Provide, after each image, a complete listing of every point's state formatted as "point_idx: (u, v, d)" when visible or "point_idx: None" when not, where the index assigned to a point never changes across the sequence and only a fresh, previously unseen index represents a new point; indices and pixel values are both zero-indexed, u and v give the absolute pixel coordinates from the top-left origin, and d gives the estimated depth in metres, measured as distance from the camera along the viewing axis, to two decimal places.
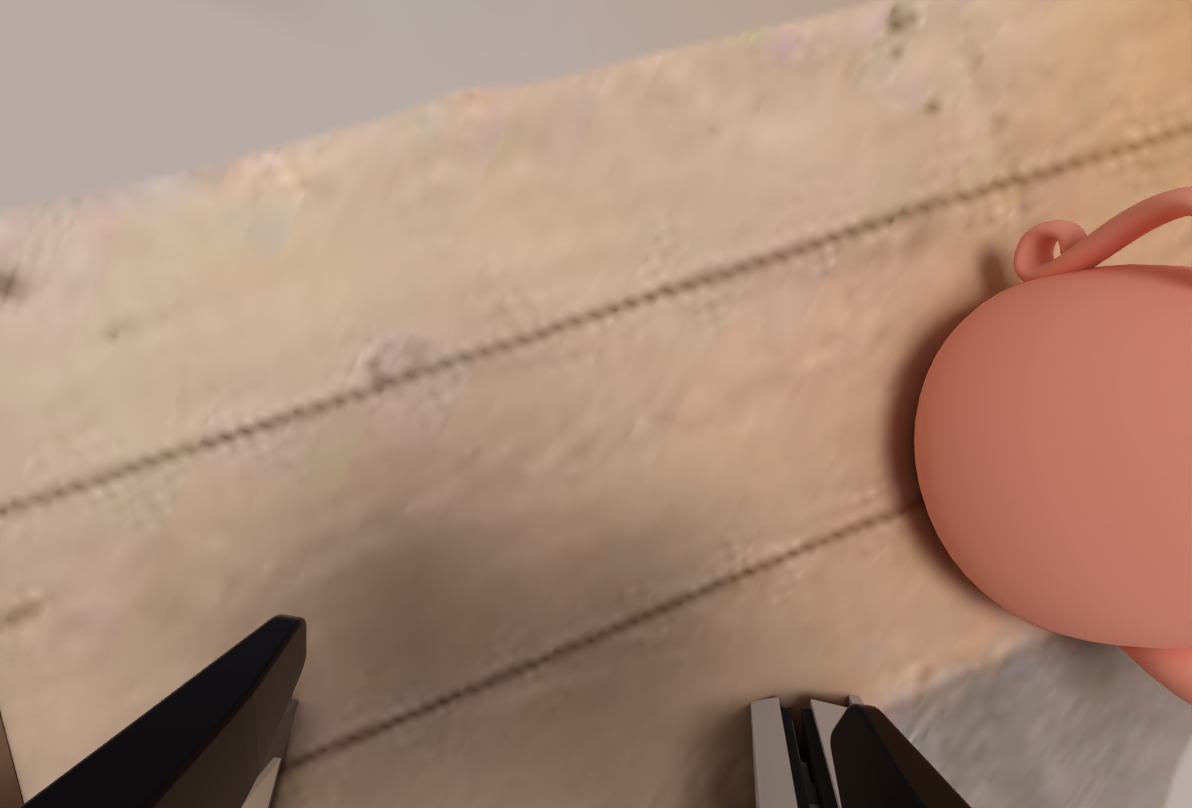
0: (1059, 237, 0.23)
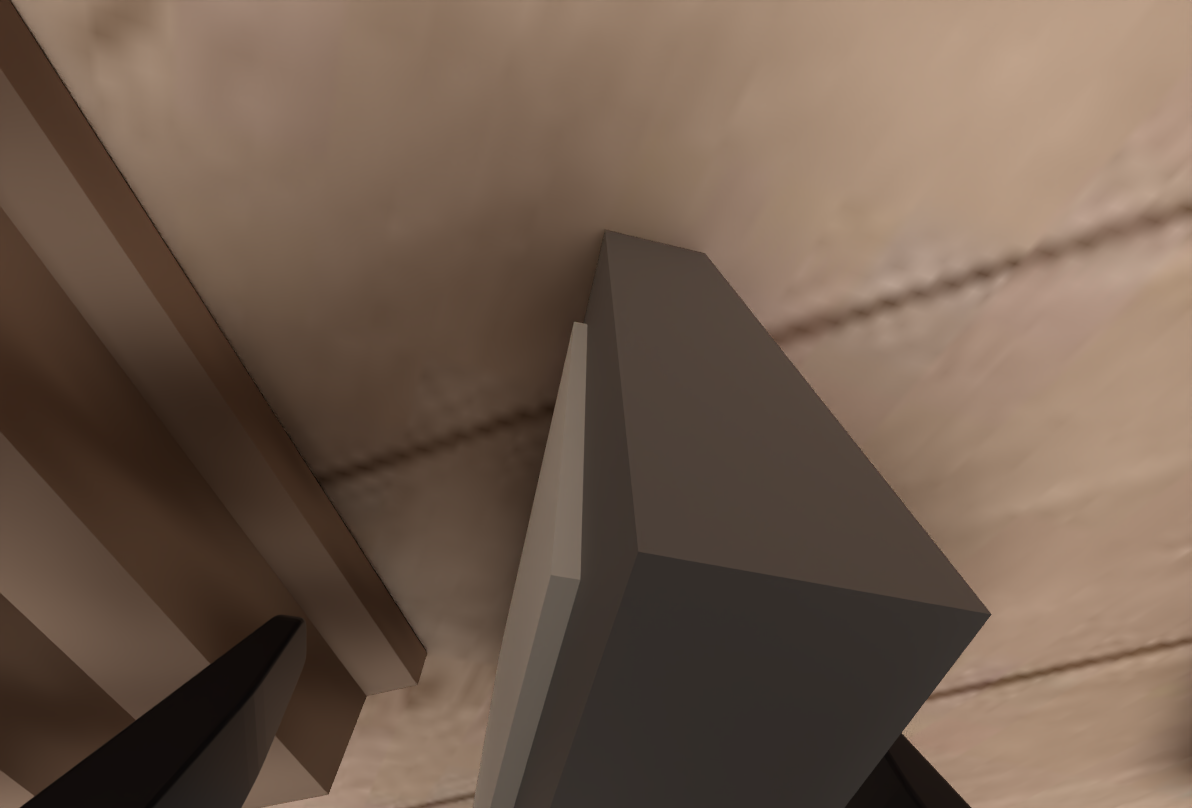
0: None
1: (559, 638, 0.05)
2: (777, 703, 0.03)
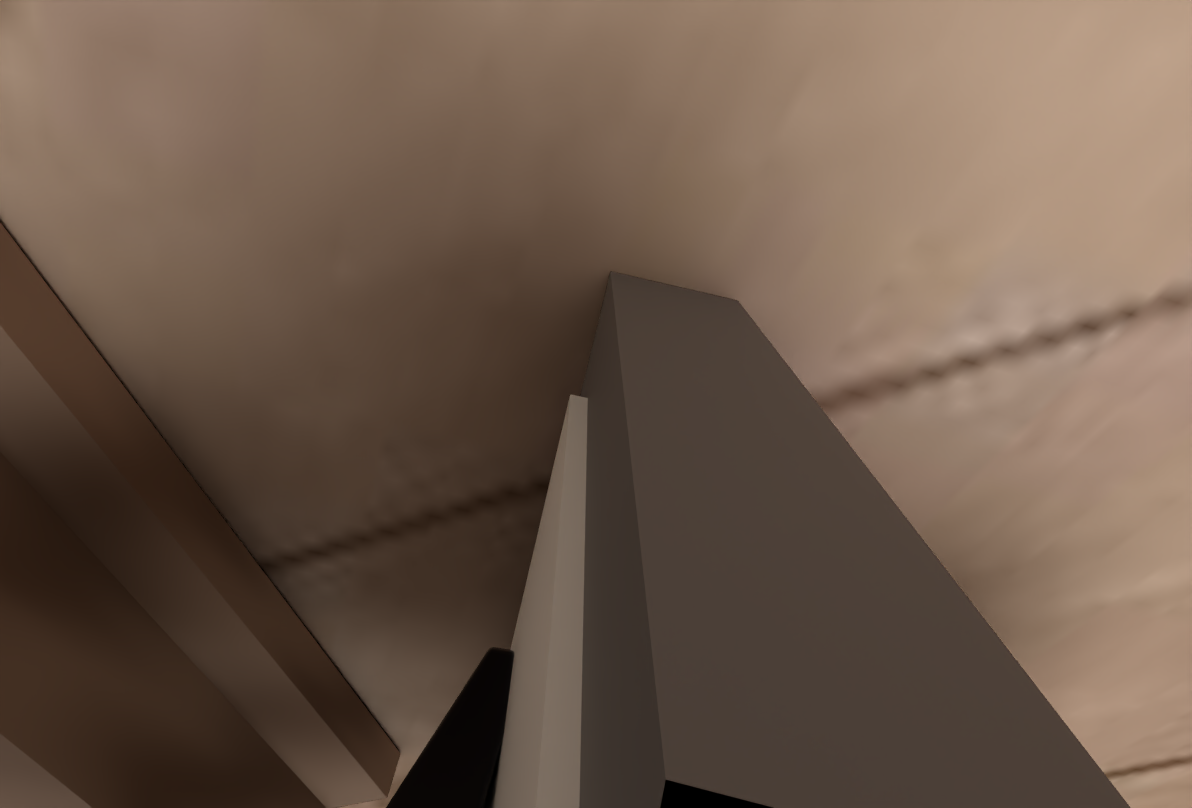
0: None
1: None
2: None
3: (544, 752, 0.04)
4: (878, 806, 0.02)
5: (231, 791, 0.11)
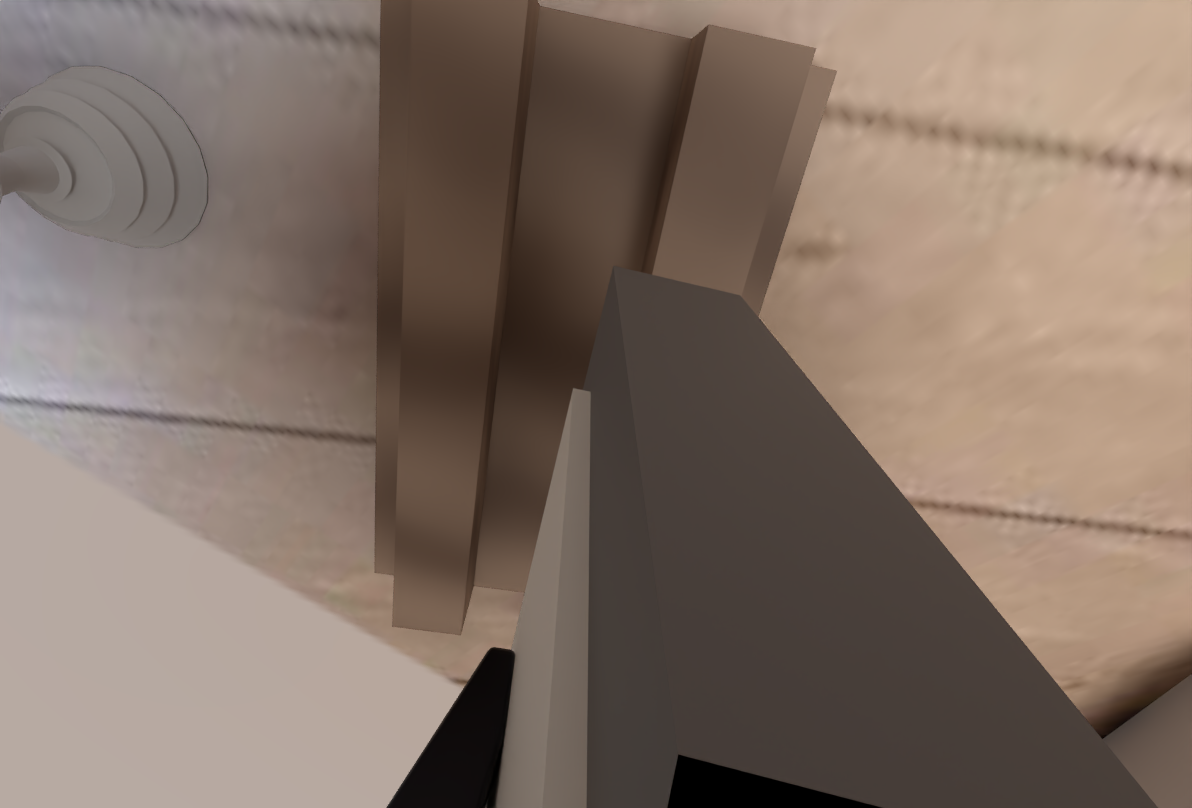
0: None
1: None
2: None
3: (551, 736, 0.04)
4: (888, 779, 0.02)
5: None
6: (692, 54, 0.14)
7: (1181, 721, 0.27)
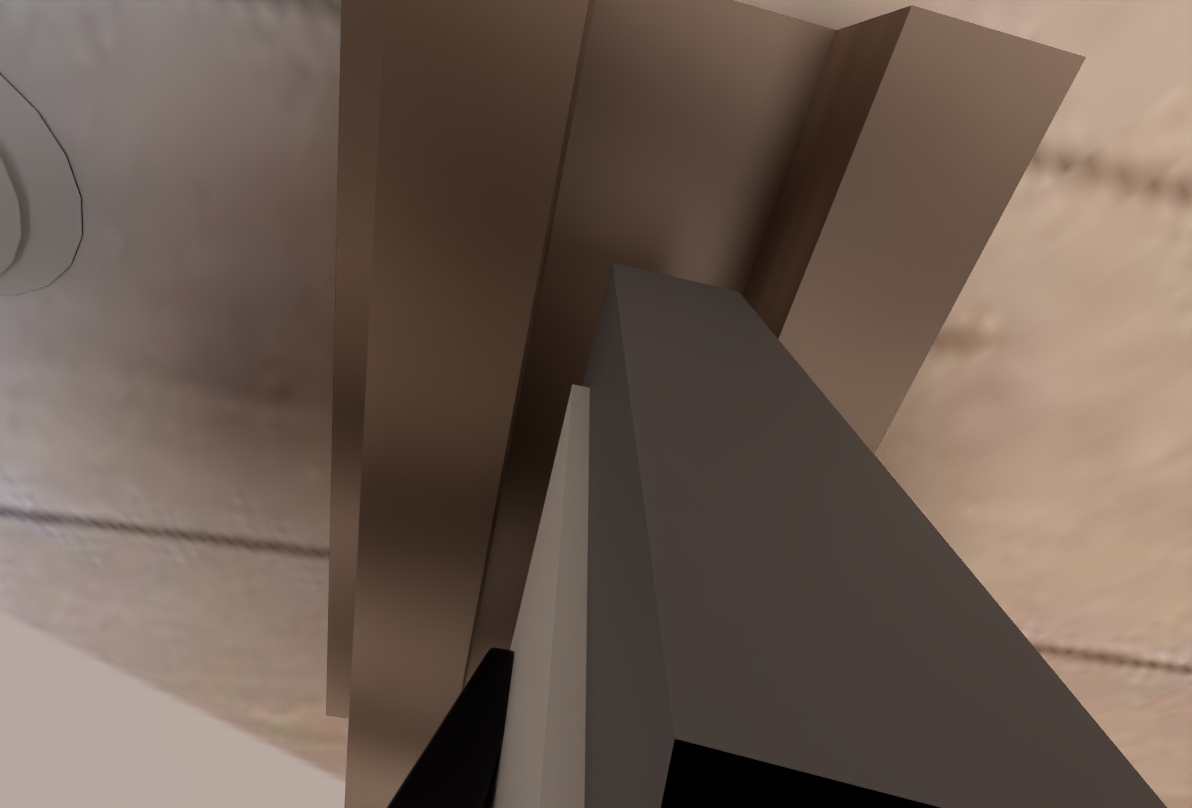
0: None
1: None
2: None
3: (549, 725, 0.04)
4: (882, 758, 0.02)
5: None
6: (845, 55, 0.09)
7: None
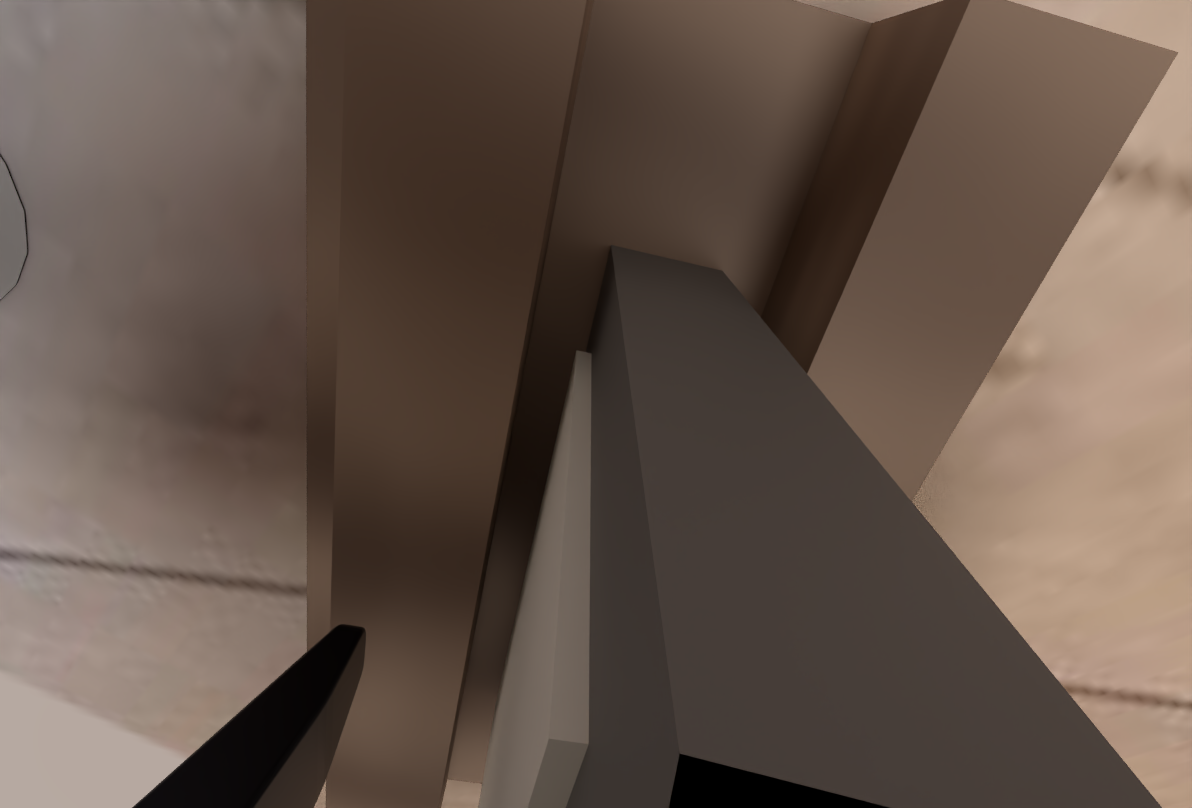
0: None
1: None
2: None
3: (563, 576, 0.05)
4: (781, 533, 0.03)
5: None
6: (885, 51, 0.08)
7: None
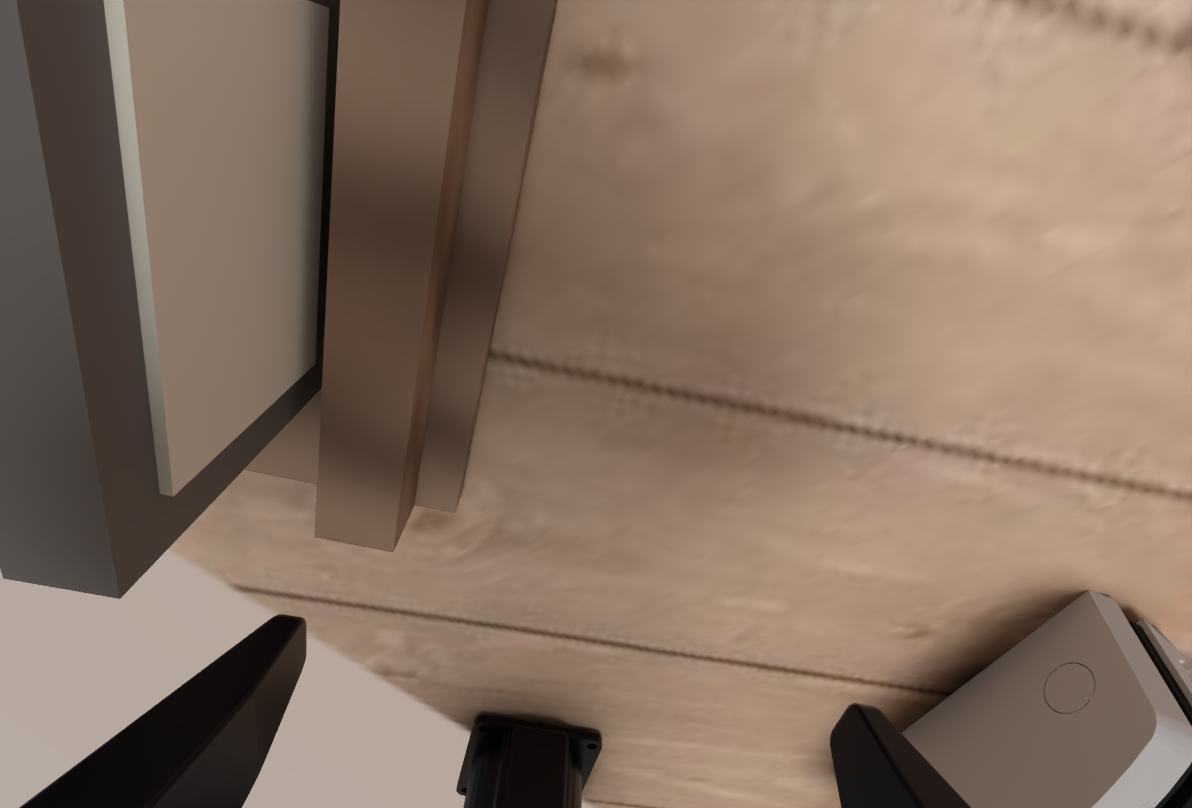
0: None
1: None
2: None
3: None
4: None
5: (415, 459, 0.19)
6: None
7: (1019, 677, 0.25)
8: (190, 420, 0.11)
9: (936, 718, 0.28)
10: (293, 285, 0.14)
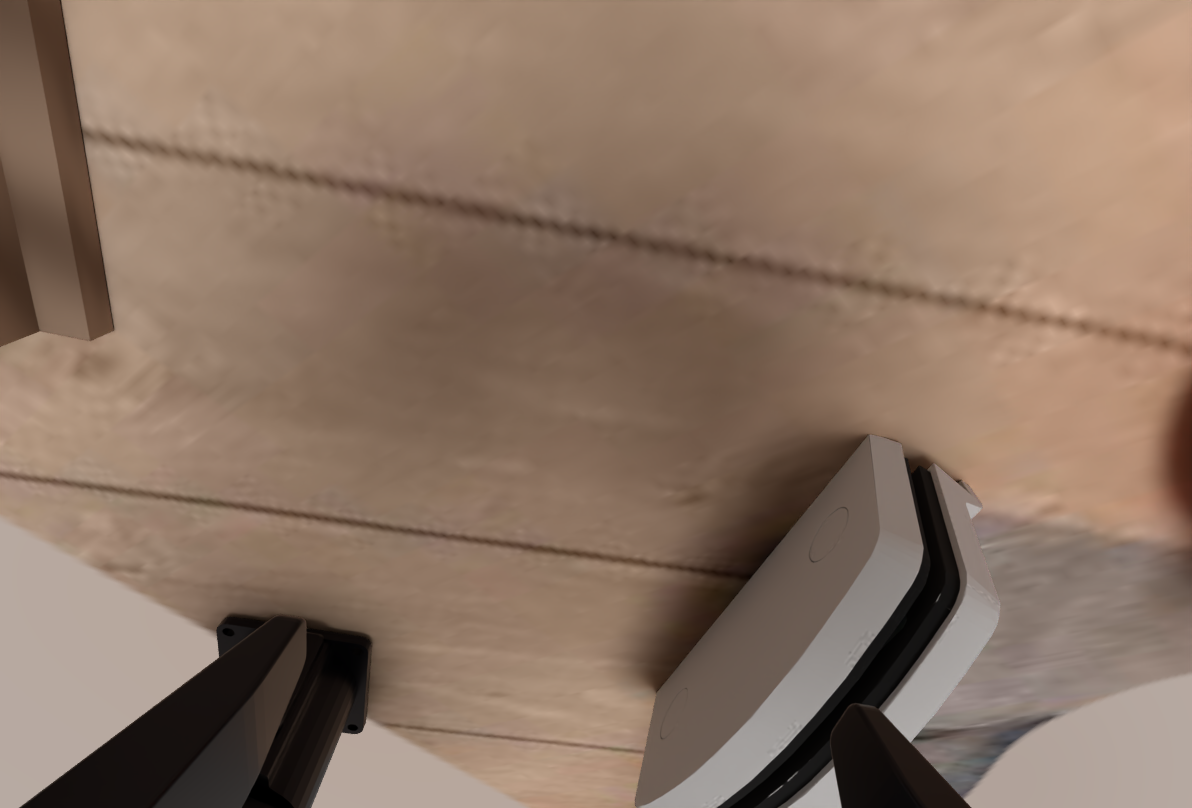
0: None
1: None
2: None
3: None
4: None
5: None
6: None
7: (799, 540, 0.21)
8: None
9: (734, 605, 0.24)
10: None
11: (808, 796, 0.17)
